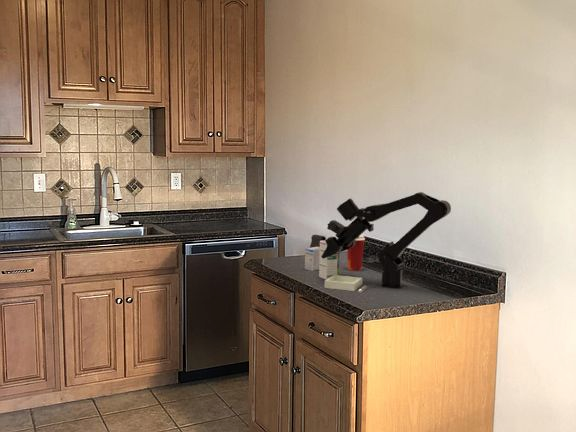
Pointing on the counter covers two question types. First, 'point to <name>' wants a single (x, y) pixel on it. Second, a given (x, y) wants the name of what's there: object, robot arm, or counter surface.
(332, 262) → the syrup box
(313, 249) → the medicine box
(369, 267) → the counter surface
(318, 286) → the counter surface
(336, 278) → the tray
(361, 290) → the rod
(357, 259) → the paper cup
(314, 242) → the phone stand
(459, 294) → the counter surface
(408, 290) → the counter surface
